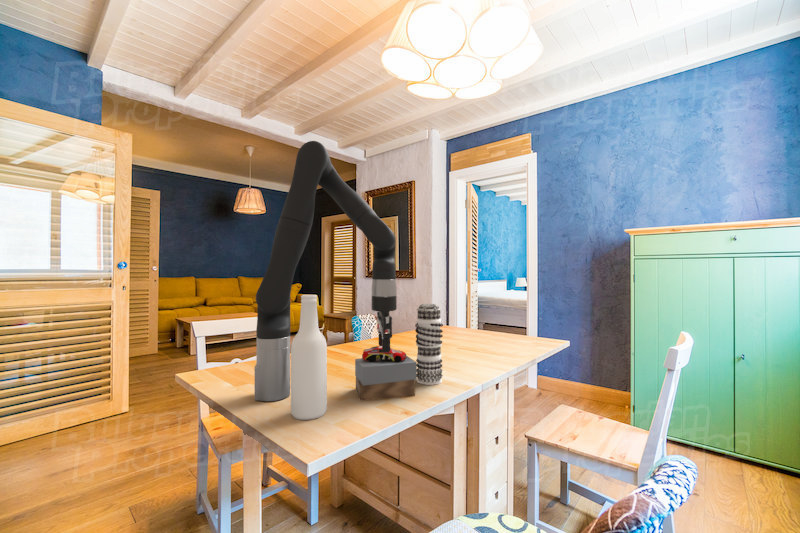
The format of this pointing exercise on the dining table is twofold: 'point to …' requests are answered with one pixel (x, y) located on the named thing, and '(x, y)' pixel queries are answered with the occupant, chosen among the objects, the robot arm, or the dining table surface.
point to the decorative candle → (429, 344)
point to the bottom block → (385, 390)
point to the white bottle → (308, 365)
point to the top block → (385, 371)
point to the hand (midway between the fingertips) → (384, 348)
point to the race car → (383, 355)
